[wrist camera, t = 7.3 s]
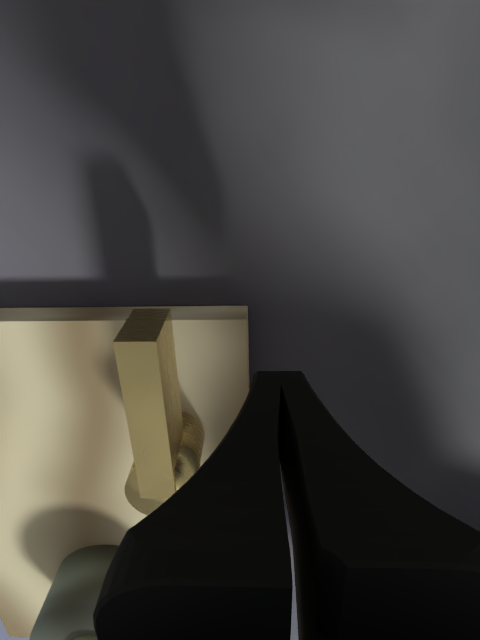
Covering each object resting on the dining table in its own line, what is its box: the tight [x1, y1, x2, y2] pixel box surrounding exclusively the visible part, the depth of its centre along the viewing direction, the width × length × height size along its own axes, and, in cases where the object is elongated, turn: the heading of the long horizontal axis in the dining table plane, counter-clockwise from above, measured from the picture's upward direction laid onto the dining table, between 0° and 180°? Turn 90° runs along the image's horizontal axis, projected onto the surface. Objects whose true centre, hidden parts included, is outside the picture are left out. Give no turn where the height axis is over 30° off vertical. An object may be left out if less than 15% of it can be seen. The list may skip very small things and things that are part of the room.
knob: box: [113, 308, 205, 516], centre depth 15 cm, size 2×7×3 cm, turn 1°
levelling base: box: [0, 306, 250, 640], centre depth 19 cm, size 14×20×5 cm
